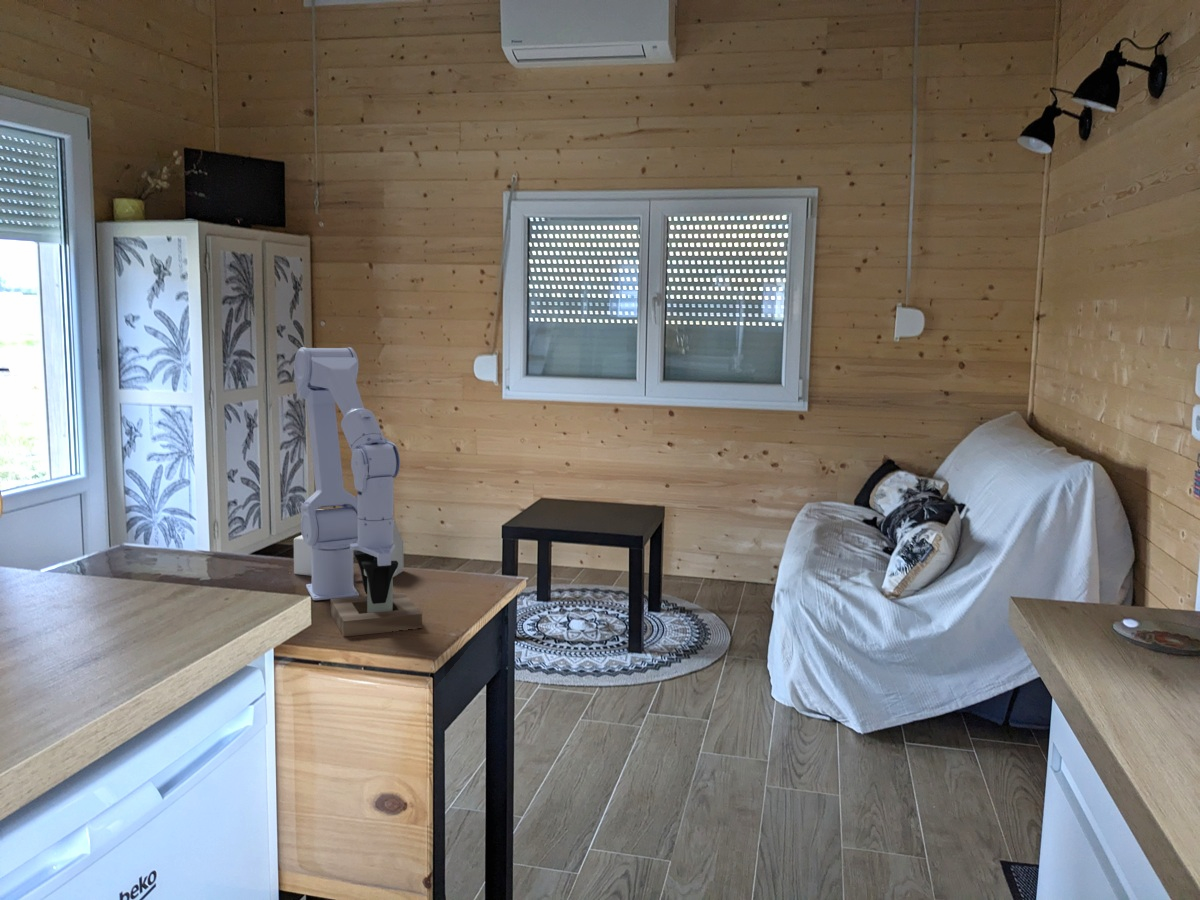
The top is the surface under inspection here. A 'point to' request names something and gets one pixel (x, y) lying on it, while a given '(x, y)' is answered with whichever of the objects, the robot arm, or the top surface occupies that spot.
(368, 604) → the green peg
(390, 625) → the walnut holder
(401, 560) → the grey gabled block
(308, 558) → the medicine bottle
